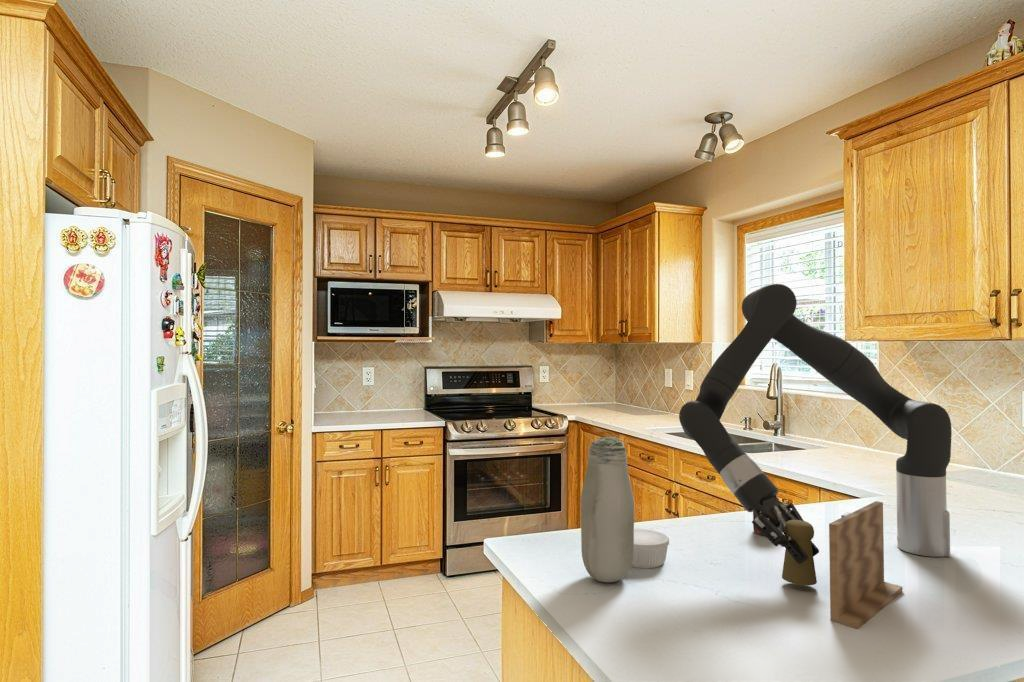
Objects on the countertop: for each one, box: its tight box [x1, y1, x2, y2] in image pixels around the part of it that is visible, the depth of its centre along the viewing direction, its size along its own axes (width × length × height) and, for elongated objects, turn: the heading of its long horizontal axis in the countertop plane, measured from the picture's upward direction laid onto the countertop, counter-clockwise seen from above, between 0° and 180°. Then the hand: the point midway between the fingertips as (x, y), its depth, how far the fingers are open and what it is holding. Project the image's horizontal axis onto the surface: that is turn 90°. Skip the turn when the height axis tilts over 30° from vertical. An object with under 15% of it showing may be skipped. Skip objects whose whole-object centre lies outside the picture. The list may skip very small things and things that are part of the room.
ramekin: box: [631, 528, 670, 569], centre depth 127 cm, size 11×11×5 cm
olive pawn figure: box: [781, 520, 818, 586], centre depth 113 cm, size 6×6×11 cm
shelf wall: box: [828, 500, 903, 630], centre depth 104 cm, size 22×4×16 cm, turn 131°
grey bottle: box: [580, 436, 635, 584], centre depth 117 cm, size 10×10×28 cm
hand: (809, 557), depth 112 cm, fingers closed on olive pawn figure, 4 cm apart
